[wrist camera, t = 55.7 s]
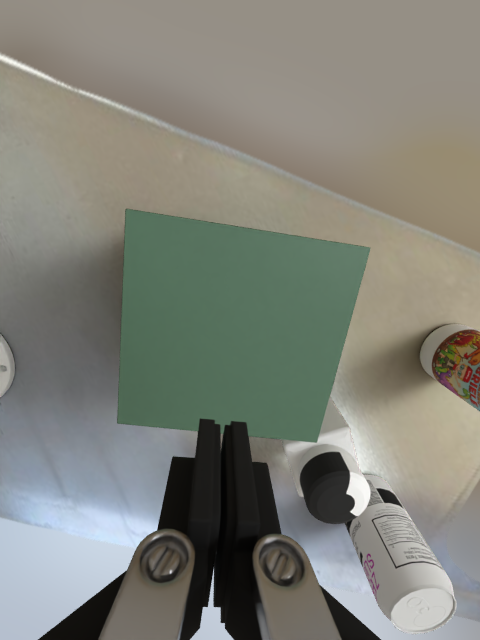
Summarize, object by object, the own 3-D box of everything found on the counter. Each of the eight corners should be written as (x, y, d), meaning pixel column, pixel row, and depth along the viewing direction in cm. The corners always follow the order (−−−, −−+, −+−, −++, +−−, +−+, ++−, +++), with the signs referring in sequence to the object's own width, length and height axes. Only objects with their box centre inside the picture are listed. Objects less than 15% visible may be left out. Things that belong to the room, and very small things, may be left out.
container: (286, 453, 44) (312, 543, 31) (272, 408, 42) (293, 485, 29) (339, 438, 44) (386, 522, 31) (328, 391, 41) (373, 462, 29)
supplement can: (399, 494, 47) (476, 611, 33) (354, 522, 48) (410, 648, 34) (370, 461, 45) (438, 571, 31) (324, 492, 46) (369, 612, 32)
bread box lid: (129, 209, 19) (125, 208, 19) (365, 246, 21) (370, 247, 20) (120, 417, 24) (116, 423, 23) (314, 436, 25) (317, 443, 25)
